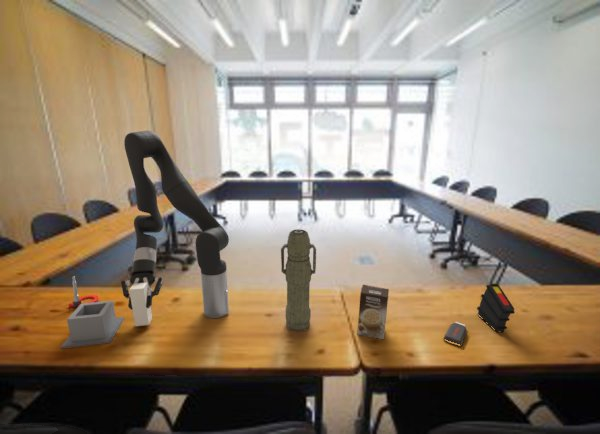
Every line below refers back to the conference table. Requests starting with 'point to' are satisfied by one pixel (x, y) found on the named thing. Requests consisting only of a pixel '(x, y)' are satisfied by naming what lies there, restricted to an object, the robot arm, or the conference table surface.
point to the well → (92, 324)
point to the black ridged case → (495, 307)
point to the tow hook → (78, 300)
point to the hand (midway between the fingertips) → (139, 308)
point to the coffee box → (372, 311)
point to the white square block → (140, 304)
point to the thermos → (298, 279)
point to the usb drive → (456, 333)
